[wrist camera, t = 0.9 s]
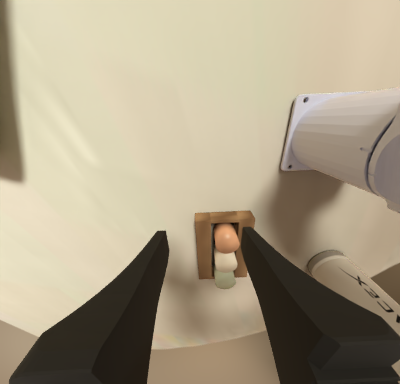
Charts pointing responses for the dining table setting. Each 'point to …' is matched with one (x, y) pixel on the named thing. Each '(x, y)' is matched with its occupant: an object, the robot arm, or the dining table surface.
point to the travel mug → (355, 287)
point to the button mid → (225, 261)
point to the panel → (204, 239)
